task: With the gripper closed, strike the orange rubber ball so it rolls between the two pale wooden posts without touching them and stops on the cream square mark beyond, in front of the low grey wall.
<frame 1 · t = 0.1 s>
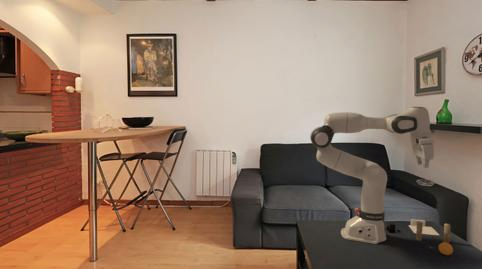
hand: (422, 166, 148), 39 cm above the table, tool pointing down, fingers open, 8 cm apart
post 1: (419, 239, 153), on the table
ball: (445, 248, 136), on the table
dark slotted block: (390, 231, 165), on the table
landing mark: (423, 230, 165), on the table
post 2: (446, 241, 149), on the table
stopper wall: (417, 225, 172), on the table
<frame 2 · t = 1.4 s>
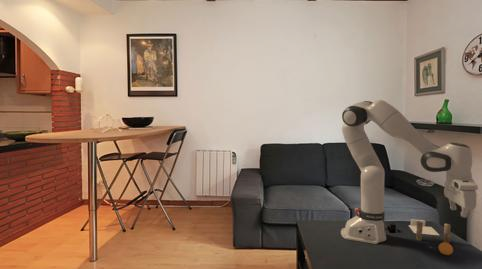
hand: (458, 213, 126), 23 cm above the table, tool pointing down, fingers open, 8 cm apart
nothing on the table moved.
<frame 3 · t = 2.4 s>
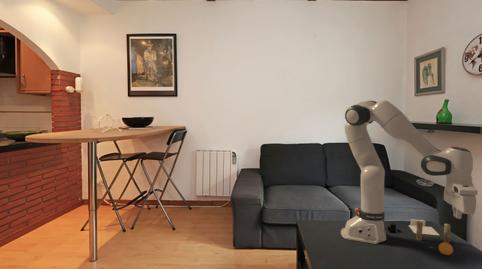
hand: (457, 217, 125), 21 cm above the table, tool pointing down, fingers closed
nothing on the table moved.
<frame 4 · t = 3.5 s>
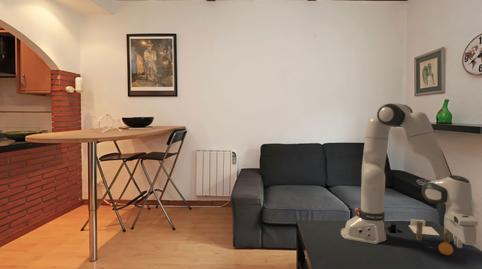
hand: (458, 246, 126), 8 cm above the table, tool pointing down, fingers closed
nothing on the table moved.
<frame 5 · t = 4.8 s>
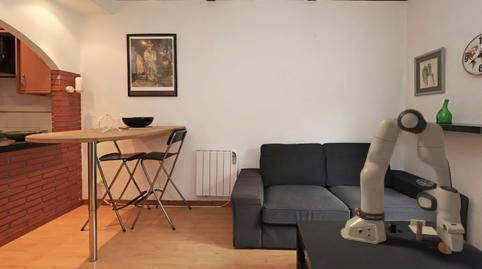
hand: (448, 252, 134), 2 cm above the table, tool pointing down, fingers closed
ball: (445, 247, 137), on the table, touching gripper
everything else where it was.
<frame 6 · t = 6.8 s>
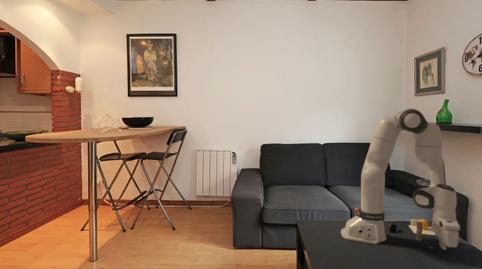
hand: (442, 248, 139), 2 cm above the table, tool pointing down, fingers closed
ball: (423, 224, 166), on the table
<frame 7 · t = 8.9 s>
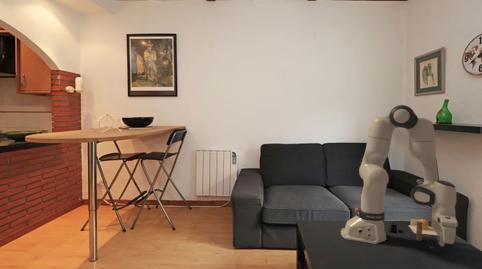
hand: (440, 245, 138), 4 cm above the table, tool pointing down, fingers closed
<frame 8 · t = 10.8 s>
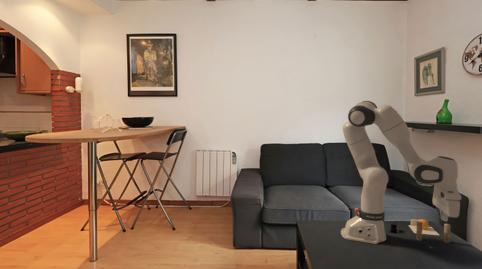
hand: (444, 220, 138), 15 cm above the table, tool pointing down, fingers closed
at the end: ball 2.4 cm from the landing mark (horizontally); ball never touched post 1; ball never touched post 2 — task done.
